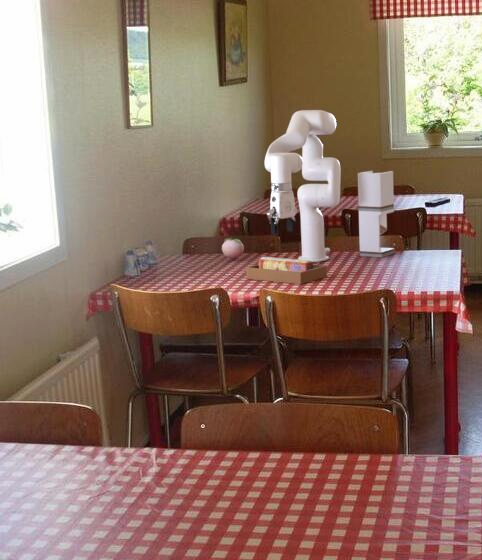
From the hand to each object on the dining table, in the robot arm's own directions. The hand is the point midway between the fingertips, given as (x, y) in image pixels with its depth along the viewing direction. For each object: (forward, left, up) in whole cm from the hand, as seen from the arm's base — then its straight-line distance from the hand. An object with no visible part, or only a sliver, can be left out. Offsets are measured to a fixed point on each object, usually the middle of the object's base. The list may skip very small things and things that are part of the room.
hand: (283, 233), depth 373 cm
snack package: (0, +1, -16) cm, 16 cm away
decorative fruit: (-22, -44, -17) cm, 52 cm away
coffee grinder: (-60, +4, -17) cm, 63 cm away
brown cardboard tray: (0, +1, -17) cm, 17 cm away
